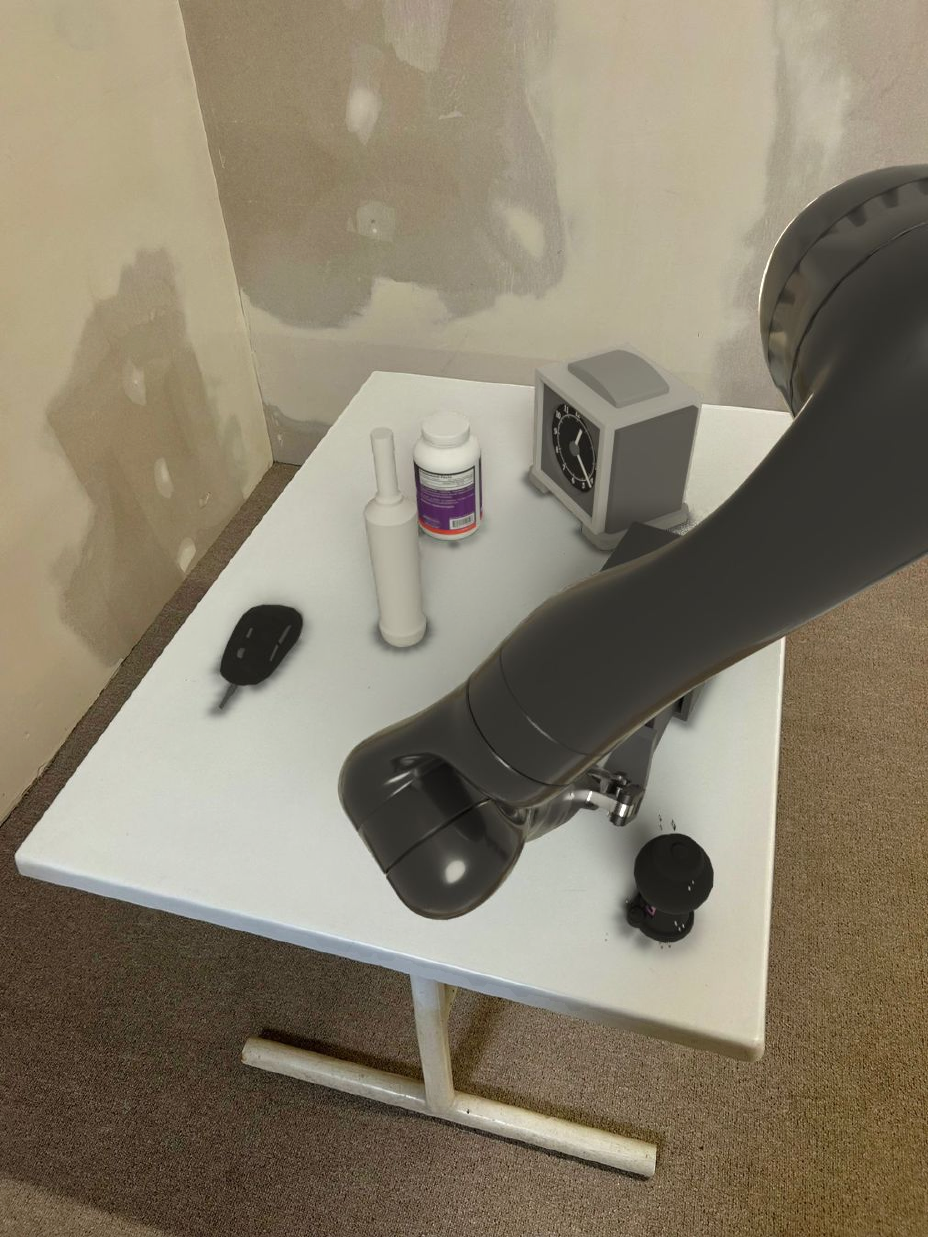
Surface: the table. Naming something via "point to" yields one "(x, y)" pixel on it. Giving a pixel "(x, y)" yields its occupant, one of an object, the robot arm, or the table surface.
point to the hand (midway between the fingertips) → (577, 766)
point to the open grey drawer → (639, 749)
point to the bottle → (394, 549)
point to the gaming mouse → (259, 644)
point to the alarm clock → (614, 440)
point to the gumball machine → (669, 886)
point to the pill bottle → (448, 477)
